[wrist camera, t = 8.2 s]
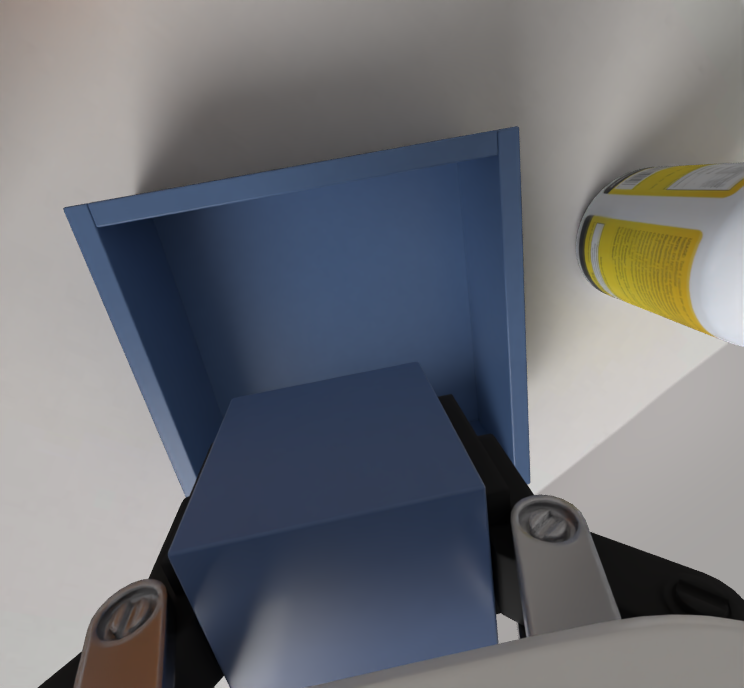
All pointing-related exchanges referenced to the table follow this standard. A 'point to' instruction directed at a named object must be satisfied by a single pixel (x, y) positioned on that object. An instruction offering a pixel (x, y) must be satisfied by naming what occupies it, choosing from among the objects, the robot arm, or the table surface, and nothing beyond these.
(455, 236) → the blue bin
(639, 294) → the pill bottle
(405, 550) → the blue block
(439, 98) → the table surface
